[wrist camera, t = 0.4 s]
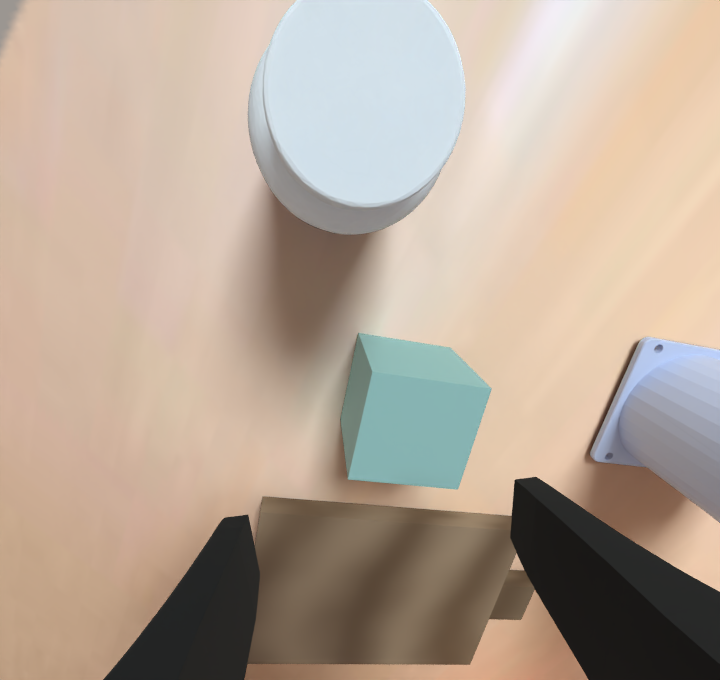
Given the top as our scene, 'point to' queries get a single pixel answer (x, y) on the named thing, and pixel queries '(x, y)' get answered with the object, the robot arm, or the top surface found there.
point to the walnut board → (380, 583)
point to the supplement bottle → (356, 110)
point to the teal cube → (410, 413)
